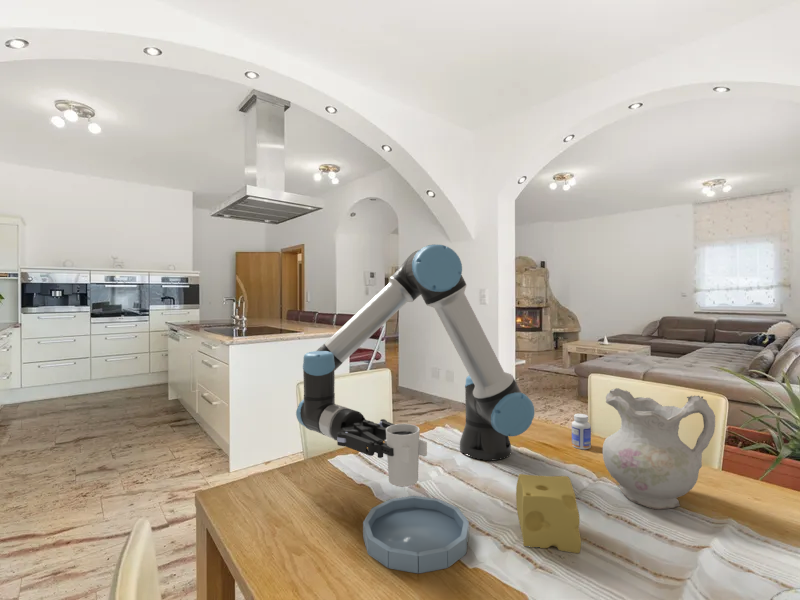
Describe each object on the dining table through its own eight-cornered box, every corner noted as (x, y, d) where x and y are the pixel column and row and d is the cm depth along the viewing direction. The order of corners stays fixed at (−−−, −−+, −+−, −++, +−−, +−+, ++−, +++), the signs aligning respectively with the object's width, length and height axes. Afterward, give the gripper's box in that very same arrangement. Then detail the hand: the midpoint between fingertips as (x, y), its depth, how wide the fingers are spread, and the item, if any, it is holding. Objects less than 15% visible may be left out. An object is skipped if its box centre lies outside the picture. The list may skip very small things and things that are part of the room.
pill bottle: (589, 444, 128) (589, 413, 128) (591, 450, 123) (591, 418, 123) (571, 442, 130) (571, 412, 129) (572, 448, 124) (572, 417, 124)
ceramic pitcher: (692, 489, 101) (689, 387, 102) (733, 527, 82) (728, 401, 83) (596, 479, 106) (594, 383, 108) (614, 513, 88) (611, 395, 89)
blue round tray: (445, 504, 92) (445, 491, 92) (486, 560, 73) (486, 543, 73) (357, 517, 87) (357, 503, 87) (376, 581, 68) (376, 563, 68)
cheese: (581, 555, 74) (581, 500, 74) (520, 547, 77) (520, 495, 76) (569, 523, 85) (569, 475, 84) (515, 517, 87) (515, 471, 87)
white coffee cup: (404, 469, 85) (404, 421, 85) (427, 480, 80) (426, 429, 80) (379, 479, 81) (378, 428, 80) (401, 491, 75) (400, 437, 75)
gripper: (371, 431, 100) (446, 459, 83) (312, 450, 88) (385, 487, 71) (370, 401, 100) (445, 422, 83) (311, 416, 88) (384, 444, 71)
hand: (417, 452), depth 77 cm, fingers closed on white coffee cup, 4 cm apart
